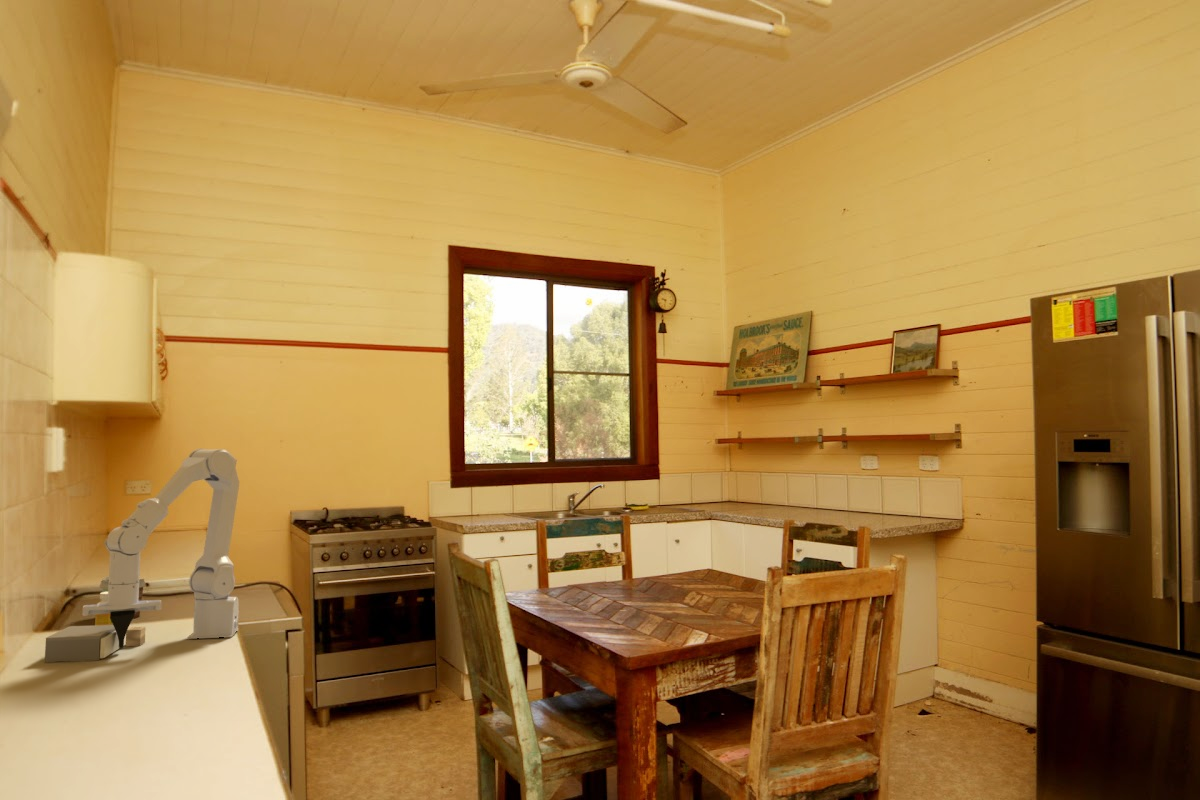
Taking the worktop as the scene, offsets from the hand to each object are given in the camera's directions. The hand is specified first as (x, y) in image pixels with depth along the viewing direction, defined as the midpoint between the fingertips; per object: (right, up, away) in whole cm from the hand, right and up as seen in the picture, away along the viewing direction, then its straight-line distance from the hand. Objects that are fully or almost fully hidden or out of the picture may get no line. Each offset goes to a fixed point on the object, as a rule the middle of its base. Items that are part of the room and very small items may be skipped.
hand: (121, 646), depth 171 cm
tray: (-6, -1, -1) cm, 6 cm away
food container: (-23, -4, +35) cm, 42 cm away
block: (-2, -2, +8) cm, 8 cm away
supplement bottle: (-14, -3, +18) cm, 23 cm away
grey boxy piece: (-7, -1, -1) cm, 7 cm away
